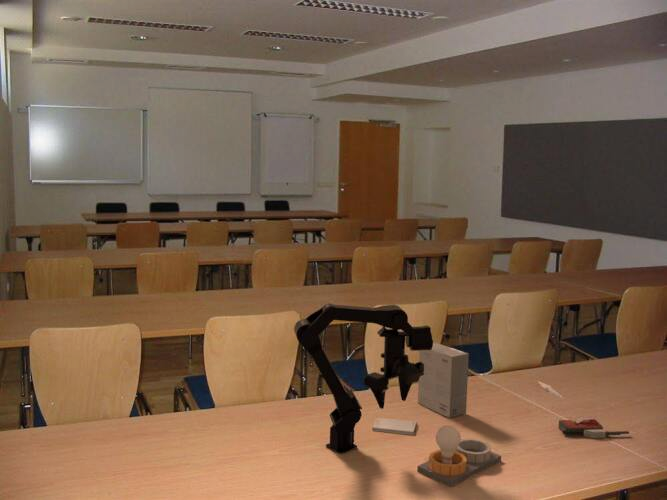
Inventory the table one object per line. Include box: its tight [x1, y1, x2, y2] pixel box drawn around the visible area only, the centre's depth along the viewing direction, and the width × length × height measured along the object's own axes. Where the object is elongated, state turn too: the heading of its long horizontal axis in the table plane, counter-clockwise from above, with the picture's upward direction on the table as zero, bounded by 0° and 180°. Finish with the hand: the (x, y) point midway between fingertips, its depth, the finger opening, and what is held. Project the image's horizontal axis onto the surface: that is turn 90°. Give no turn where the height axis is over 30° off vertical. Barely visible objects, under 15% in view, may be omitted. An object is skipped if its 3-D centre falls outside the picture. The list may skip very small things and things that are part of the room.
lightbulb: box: [435, 425, 462, 465], centre depth 179 cm, size 6×6×11 cm
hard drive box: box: [417, 342, 470, 419], centre depth 223 cm, size 16×8×20 cm, turn 34°
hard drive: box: [371, 417, 418, 436], centre depth 208 cm, size 2×8×12 cm
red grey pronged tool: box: [558, 416, 630, 439], centre depth 207 cm, size 9×4×20 cm
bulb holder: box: [417, 438, 502, 487], centre depth 183 cm, size 22×11×4 cm, turn 133°
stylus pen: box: [538, 380, 565, 400], centre depth 241 cm, size 15×3×2 cm, turn 18°
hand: (392, 404), depth 194 cm, fingers open, 9 cm apart
